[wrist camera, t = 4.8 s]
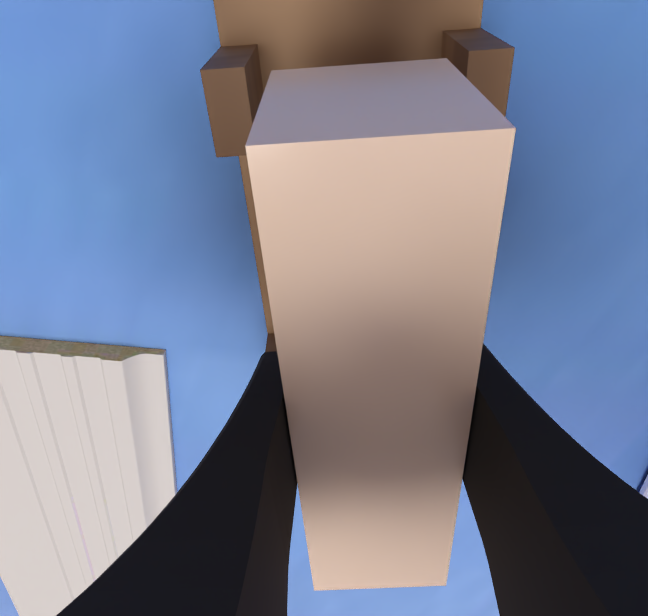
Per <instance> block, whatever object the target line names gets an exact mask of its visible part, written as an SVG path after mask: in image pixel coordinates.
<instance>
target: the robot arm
mask: <svg viewBox="0 0 648 616" xmlns="http://www.w3.org/2000/svg"><path fill="white" fill-rule="evenodd" d="M462 479H463V482H464V485H465V488H466V491H467V494H468V497H469V500H470V504H471V507H472V510H473V513H474V516H475V519H476V522H477V526H478V529H479V532H480V535H481V538H482V541H483V545H484V548H485V552H486V556H487V559H488V563H489V568H490V572H491V577H492V582H493V586H494V591H495V595H496V600H497V605H498V609H499V614H500V616H648V475H647V477H646V479H645V481H644V483H643V486H642V488H641V490H640V492H638V491H636V490H635V489H634V488H632V487H631V486H630V485H628V484H627V483H626V482H624V481H623V480H622V479H620V478H619V477H618V476H617V475H615V474H614V473H613V472H612V471H610V470H609V469H608V468H607V467H605V466H604V465H603V464H602V463H600V462H599V461H598V460H597V459H596V458H595V457H593V456H592V455H591V454H590V453H589V452H588V451H586V450H585V449H584V448H583V447H582V446H581V445H580V444H579V443H577V442H576V441H575V440H574V439H573V438H572V437H571V436H570V435H569V434H568V433H567V432H566V431H564V430H563V429H562V428H561V427H560V426H559V425H558V424H557V423H556V422H555V421H554V420H553V419H552V418H551V417H550V416H549V415H548V414H547V413H546V412H545V411H544V410H543V409H542V408H541V407H540V406H539V405H538V404H537V403H536V402H535V401H534V400H533V399H532V398H531V397H530V396H529V395H528V394H527V393H526V392H525V390H524V389H523V388H522V387H521V386H520V385H519V384H518V383H517V382H516V381H515V380H514V378H513V377H512V376H511V375H510V374H509V373H508V372H507V371H506V369H505V368H504V367H503V366H502V365H501V364H500V363H499V361H498V360H497V359H496V358H495V357H494V356H493V354H492V353H491V352H490V351H489V350H488V349H487V347H486V346H485V345H484V344H483V346H482V353H481V360H480V366H479V373H478V379H477V386H476V392H475V399H474V405H473V412H472V418H471V425H470V431H469V438H468V444H467V451H466V458H465V464H464V471H463V477H462ZM296 490H297V476H296V470H295V463H294V457H293V450H292V444H291V437H290V431H289V425H288V418H287V412H286V405H285V399H284V392H283V386H282V379H281V373H280V367H279V360H278V354H277V351H272V352H265V353H264V354H263V355H262V356H261V358H260V360H259V362H258V365H257V367H256V369H255V371H254V374H253V376H252V378H251V380H250V382H249V384H248V386H247V387H246V389H245V391H244V393H243V395H242V397H241V399H240V401H239V402H238V404H237V406H236V407H235V409H234V411H233V413H232V414H231V416H230V418H229V420H228V421H227V423H226V425H225V426H224V428H223V429H222V431H221V432H220V434H219V435H218V437H217V438H216V440H215V441H214V443H213V444H212V446H211V447H210V449H209V451H208V452H207V454H206V455H205V456H204V458H203V459H202V461H201V462H200V463H199V465H198V466H197V468H196V469H195V470H194V472H193V473H192V474H191V476H190V477H189V478H188V480H187V481H186V482H185V483H184V485H183V486H182V487H181V489H180V490H179V491H178V492H177V494H176V495H175V496H174V497H173V498H172V500H171V501H170V502H169V503H168V504H167V505H166V507H165V508H164V509H163V510H162V511H161V512H160V514H159V515H158V516H157V517H156V518H155V519H154V521H153V522H152V523H151V524H150V525H149V526H148V527H147V528H146V530H145V531H144V532H143V533H142V534H141V535H140V536H139V537H138V538H137V539H136V540H135V541H134V542H133V543H132V544H131V545H130V546H129V547H128V548H127V549H126V550H125V551H124V552H123V553H122V554H121V555H120V556H119V557H118V558H117V559H116V560H115V561H114V562H113V563H112V564H111V565H110V566H109V567H108V568H107V569H106V570H105V571H104V572H103V573H102V574H101V575H100V576H99V577H98V578H97V579H96V580H95V581H94V582H93V583H92V584H91V585H90V586H89V587H88V588H87V589H86V590H84V591H83V592H82V593H81V594H80V595H79V596H78V597H76V598H75V599H74V600H73V601H72V602H71V603H70V604H69V605H67V606H66V607H65V608H64V609H63V610H62V611H61V612H59V613H58V614H57V615H56V616H287V592H288V564H289V551H290V542H291V533H292V525H293V516H294V507H295V499H296Z"/></svg>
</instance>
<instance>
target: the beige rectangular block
mask: <svg viewBox="0 0 648 616" xmlns="http://www.w3.org/2000/svg"><path fill="white" fill-rule="evenodd" d="M515 131H516V128H515V127H514V126H513V125H512V124H511V123H510V122H509V121H508V120H507V119H506V118H505V117H504V116H503V115H502V114H501V113H500V111H499V110H498V109H497V108H496V107H495V106H494V105H493V104H492V103H491V102H490V101H489V100H488V99H487V98H486V97H485V96H484V95H483V94H482V93H481V92H480V91H479V90H478V89H477V88H476V87H475V86H474V85H473V84H472V83H471V82H470V81H469V80H468V79H467V78H466V77H465V76H464V75H463V74H462V73H461V72H460V71H459V70H458V69H457V68H456V67H455V66H454V65H453V64H452V63H451V62H450V61H449V60H448V59H447V58H441V59H427V60H413V61H399V62H384V63H370V64H356V65H342V66H328V67H314V68H300V69H286V70H271V73H270V76H269V79H268V82H267V85H266V87H265V90H264V93H263V96H262V99H261V102H260V105H259V108H258V111H257V113H256V116H255V119H254V122H253V125H252V128H251V131H250V134H249V137H248V139H247V142H246V145H245V147H246V154H247V160H248V167H249V173H250V180H251V186H252V193H253V199H254V205H255V212H256V218H257V225H258V231H259V238H260V244H261V251H262V257H263V263H264V270H265V276H266V283H267V289H268V296H269V302H270V309H271V315H272V321H273V328H274V334H275V341H276V347H277V354H278V360H279V367H280V373H281V379H282V386H283V392H284V399H285V405H286V412H287V418H288V425H289V431H290V437H291V444H292V450H293V457H294V463H295V470H296V476H297V483H298V489H299V495H300V502H301V508H302V515H303V521H304V528H305V534H306V541H307V547H308V553H309V560H310V566H311V573H312V579H313V586H314V590H341V589H367V588H394V587H420V586H446V582H447V575H448V569H449V562H450V556H451V549H452V543H453V536H454V529H455V523H456V516H457V510H458V503H459V497H460V490H461V484H462V477H463V471H464V464H465V458H466V451H467V444H468V438H469V431H470V425H471V418H472V412H473V405H474V399H475V392H476V386H477V379H478V373H479V366H480V360H481V353H482V346H483V340H484V333H485V327H486V320H487V314H488V307H489V301H490V294H491V288H492V281H493V275H494V268H495V261H496V255H497V248H498V242H499V235H500V229H501V222H502V216H503V209H504V203H505V196H506V190H507V183H508V176H509V170H510V163H511V157H512V150H513V144H514V137H515Z"/></svg>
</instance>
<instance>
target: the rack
mask: <svg viewBox="0 0 648 616" xmlns="http://www.w3.org/2000/svg"><path fill="white" fill-rule="evenodd" d="M213 1H214V7H215V14H216V20H217V26H218V32H219V38H220V44H221V47H220V48H219V49H218V51H217V52H216V53H215V54H214V55H213V56H212V57H211V58H210V60H209V61H208V62H207V63H206V64H205V65H204V66H203V67H202V69H201V70H200V72H201V78H202V83H203V88H204V93H205V99H206V104H207V109H208V115H209V120H210V125H211V130H212V136H213V141H214V146H215V152H216V157H229V156H239V160H240V167H241V173H242V179H243V185H244V191H245V197H246V203H247V209H248V216H249V222H250V228H251V234H252V240H253V246H254V252H255V258H256V265H257V271H258V277H259V283H260V289H261V295H262V301H263V307H264V314H265V320H266V326H267V332H268V336H267V344H266V351H265V352H272V351H277V347H276V341H275V334H274V328H273V321H272V315H271V309H270V302H269V296H268V289H267V283H266V276H265V270H264V263H263V257H262V251H261V244H260V238H259V231H258V225H257V218H256V212H255V205H254V199H253V193H252V186H251V180H250V173H249V167H248V160H247V154H246V147H245V145H246V142H247V139H248V137H249V134H250V131H251V128H252V125H253V122H254V119H255V116H256V113H257V111H258V108H259V105H260V102H261V99H262V96H263V93H264V90H265V87H266V85H267V82H268V79H269V76H270V73H271V70H286V69H300V68H314V67H328V66H342V65H356V64H370V63H384V62H399V61H413V60H427V59H441V58H447V59H448V60H449V61H450V62H451V63H452V64H453V65H454V66H455V67H456V68H457V69H458V70H459V71H460V72H461V73H462V74H463V75H464V76H465V77H466V78H467V79H468V80H469V81H470V82H471V83H472V84H473V85H474V86H475V87H476V88H477V89H478V90H479V91H480V92H481V93H482V94H483V95H484V96H485V97H486V98H487V99H488V100H489V101H490V102H491V103H492V104H493V105H494V106H495V107H496V108H497V109H498V110H499V111H500V113H501V114H502V115H503V116H504V117H505V115H506V107H507V100H508V93H509V86H510V78H511V71H512V64H513V56H514V49H515V48H514V47H512V46H511V45H509V44H507V43H506V42H504V41H502V40H500V39H499V38H497V37H495V36H493V35H492V34H490V33H488V32H487V31H485V30H483V29H481V18H482V8H483V0H213Z"/></svg>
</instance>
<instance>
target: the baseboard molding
mask: <svg viewBox="0 0 648 616" xmlns="http://www.w3.org/2000/svg"><path fill="white" fill-rule="evenodd" d="M176 494H177V485H176V472H175V460H174V448H173V435H172V423H171V411H170V398H169V386H168V373H167V361H166V350H163V349H152V348H140V347H128V346H116V345H104V344H92V343H80V342H68V341H56V340H44V339H33V338H21V337H9V336H0V576H1V579H2V581H3V583H4V585H5V587H6V589H7V591H8V593H9V595H10V597H11V599H12V601H13V603H14V605H15V607H16V610H17V612H18V614H19V616H56V615H57V614H58V613H59V612H61V611H62V610H63V609H64V608H65V607H66V606H67V605H69V604H70V603H71V602H72V601H73V600H74V599H75V598H76V597H78V596H79V595H80V594H81V593H82V592H83V591H84V590H86V589H87V588H88V587H89V586H90V585H91V584H92V583H93V582H94V581H95V580H96V579H97V578H98V577H99V576H100V575H101V574H102V573H103V572H104V571H105V570H106V569H107V568H108V567H109V566H110V565H111V564H112V563H113V562H114V561H115V560H116V559H117V558H118V557H119V556H120V555H121V554H122V553H123V552H124V551H125V550H126V549H127V548H128V547H129V546H130V545H131V544H132V543H133V542H134V541H135V540H136V539H137V538H138V537H139V536H140V535H141V534H142V533H143V532H144V531H145V530H146V528H147V527H148V526H149V525H150V524H151V523H152V522H153V521H154V519H155V518H156V517H157V516H158V515H159V514H160V512H161V511H162V510H163V509H164V508H165V507H166V505H167V504H168V503H169V502H170V501H171V500H172V498H173V497H174V496H175V495H176Z"/></svg>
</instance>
